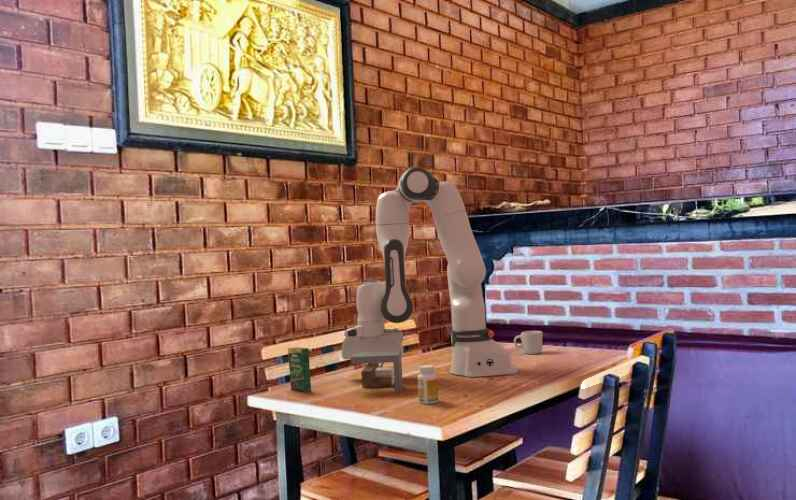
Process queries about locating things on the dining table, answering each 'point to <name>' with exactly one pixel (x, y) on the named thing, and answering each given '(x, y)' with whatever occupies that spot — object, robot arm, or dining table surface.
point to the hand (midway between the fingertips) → (373, 371)
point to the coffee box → (299, 369)
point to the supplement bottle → (427, 385)
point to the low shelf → (382, 358)
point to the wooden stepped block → (374, 377)
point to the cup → (530, 341)
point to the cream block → (385, 372)
